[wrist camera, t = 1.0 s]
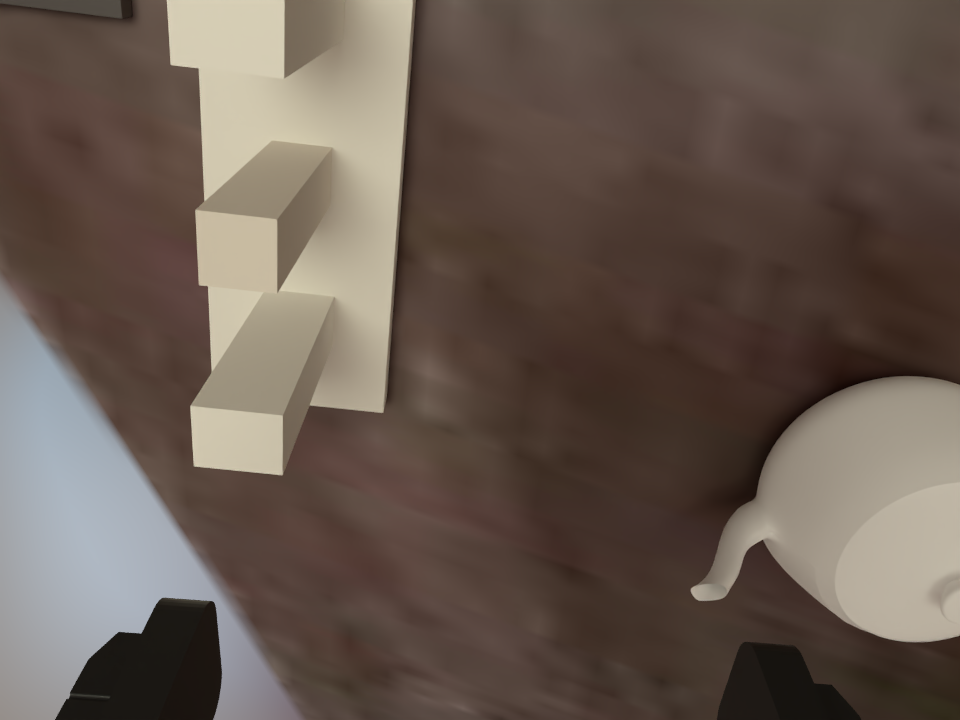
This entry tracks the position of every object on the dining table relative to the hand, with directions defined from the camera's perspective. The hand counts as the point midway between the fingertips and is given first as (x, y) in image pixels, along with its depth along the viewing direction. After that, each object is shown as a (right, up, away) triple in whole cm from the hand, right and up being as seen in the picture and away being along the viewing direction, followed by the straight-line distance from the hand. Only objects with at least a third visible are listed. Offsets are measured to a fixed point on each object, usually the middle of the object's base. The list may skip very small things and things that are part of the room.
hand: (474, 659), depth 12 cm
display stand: (-7, +13, +22) cm, 26 cm away
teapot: (+19, 0, +29) cm, 35 cm away
